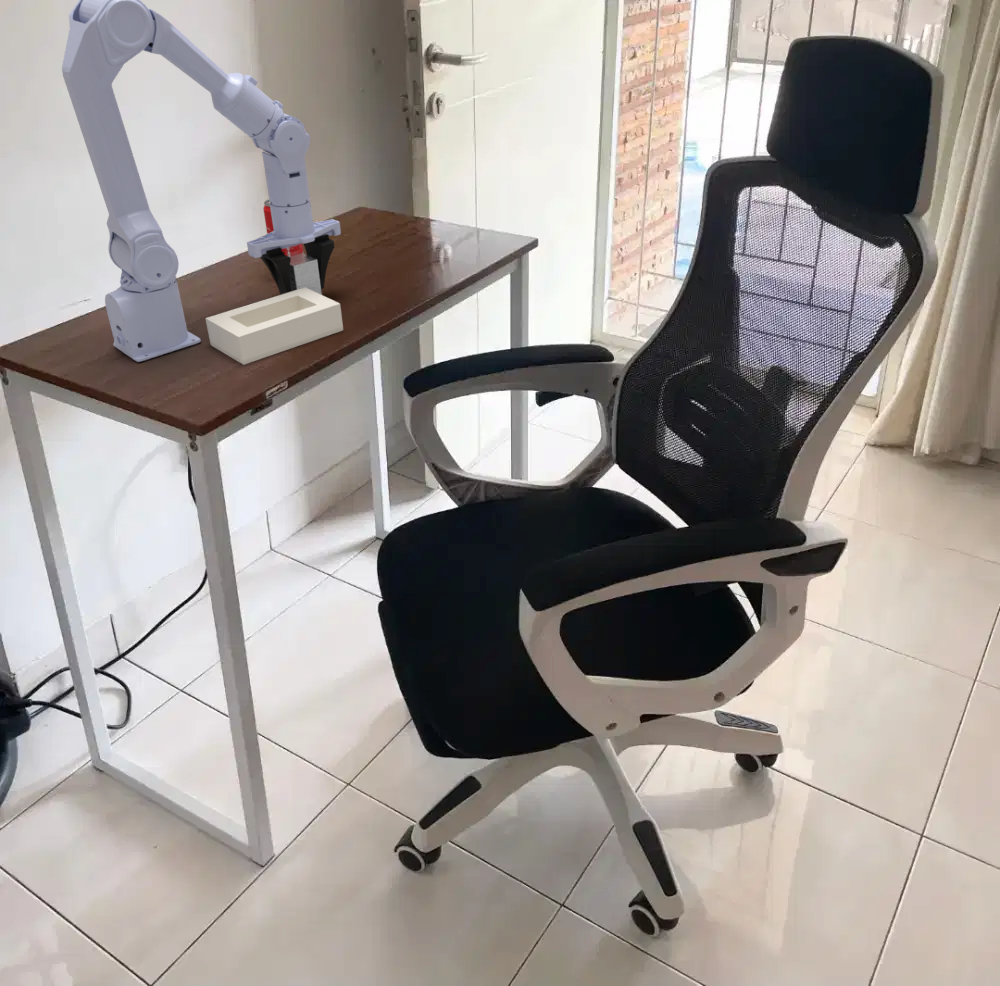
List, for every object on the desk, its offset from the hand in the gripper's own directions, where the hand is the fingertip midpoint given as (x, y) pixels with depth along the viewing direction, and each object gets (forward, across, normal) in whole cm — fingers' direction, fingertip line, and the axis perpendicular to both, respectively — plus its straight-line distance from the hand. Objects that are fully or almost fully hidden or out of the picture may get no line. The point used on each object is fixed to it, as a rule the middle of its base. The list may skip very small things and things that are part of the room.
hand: (302, 292), depth 150 cm
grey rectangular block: (+2, 0, 0) cm, 2 cm away
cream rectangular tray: (+2, -10, -8) cm, 13 cm away
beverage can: (+2, +5, +12) cm, 13 cm away
